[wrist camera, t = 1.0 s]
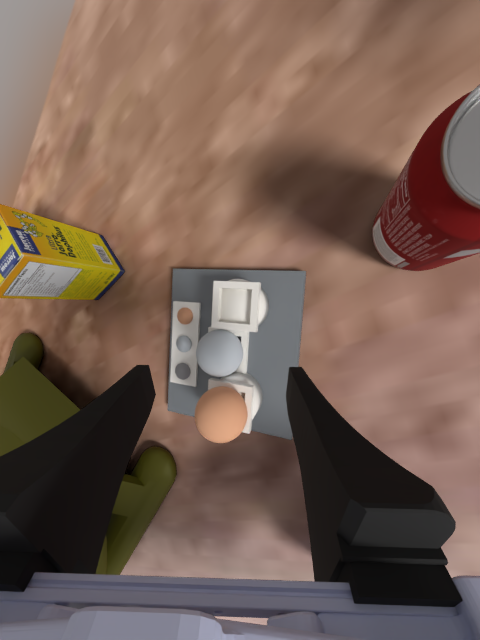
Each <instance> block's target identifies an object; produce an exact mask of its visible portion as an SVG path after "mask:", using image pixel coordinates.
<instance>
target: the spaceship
mask: <svg viewBox="0 0 480 640" xmlns="http://www.w3.org/2000/svg"><path fill="white" fill-rule="evenodd" d="M42 357H43V345H42V342H41V340H40V339H39V338H38V337H37V336H36V335H34V334H32V333H22V334H21V335H19V336H18V337H17V338H16V339H15V341H14V344H13V347H12V350H11V353H10V356H9V359H8V362H7V365H6V368H5V371H4V374H3V375H1V376H0V456H2V455H4V454H6V453H8V452H10V451H12V450H14V449H16V448H18V447H20V446H22V445H24V444H26V443H28V442H29V441H31V440H33V439H35V438H37V437H38V436H40V435H42V434H43V433H45V432H47V431H49V430H50V429H52V428H54V427H55V426H57V425H59V424H60V423H62V422H63V421H65V420H67V419H68V418H70V417H71V416H73V415H74V414H76V413H77V412H78V411H80V409H79V408H78V407H77V406H76V405H75V404H74V403H73V402H71V401H70V400H69V399H68V398H67V397H66V396H65V395H64V394H63V393H62V392H61V391H60V390H59V389H58V388H56V387H55V386H54V385H53V384H52V383H51V382H50V381H49V380H48V379H47V378H46V377H45V376H44V375H43V374H41V373H40V372H39V371H38V367H39V365H40V362H41V359H42ZM176 475H177V472H176V463H175V461H174V459H173V457H172V455H171V454H170V453H169V452H168V451H167V450H165V449H163V448H161V447H155V446H153V447H150V448H148V449H146V450H145V451H144V452H143V454H142V455H141V456H140V459H139V461H138V462H137V464H136V466H135V468H134V470H133V472H132V474H131V476H130V475H127V474H124V477H123V480H122V483H121V485H120V489H119V492H118V495H117V498H116V501H115V505H114V508H113V511H112V515H111V518H110V521H109V525H108V528H107V532H106V535H105V539H104V543H103V547H102V551H101V554H100V558H99V562H98V566H97V570H96V574H103V575H120V573H121V572H122V570H123V568H124V566H125V565H126V563H127V561H128V560H129V558H130V556H131V555H132V553H133V551H134V549H135V548H136V546H137V544H138V543H139V541H140V539H141V538H142V536H143V534H144V532H145V531H146V529H147V527H148V526H149V524H150V522H151V520H152V519H153V517H154V515H155V514H156V512H157V510H158V509H159V507H160V505H161V503H162V502H163V500H164V498H165V497H166V495H167V493H168V491H169V490H170V488H171V486H172V485H173V483H174V481H175V478H176Z"/></svg>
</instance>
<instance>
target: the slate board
mask: <svg viewBox="0 0 480 640" xmlns="http://www.w3.org/2000/svg"><path fill="white" fill-rule="evenodd" d="M232 279H243V280H247V281H250V282H260V283H261V288H262V289H263V290H264V291H265V293H266V295H267V297H268V300H269V311H268V314H267V317H266V319H265V320H264V321H263V323H262V324H261V325H259V326H258V332H248V331H245V332H240V333H235V332H232V333H233V334H234V335H236V336H237V337H238V339H239V340H240V342H241V344H242V347H243V359H242V362H241V364H240V366H239V367H238V369H237V370H236V371H234V372H238V373H244V374H245V373H248V374H250V375H251V376H253V377H254V378H255V379H256V380H257V382H258V383H259V385H260V387H261V389H262V394H263V400H262V404H261V407H260V408H259V410H258V412H257V413H256V415H255V416H254V418H253V420H252V427H251V430H252V431H256V432H260V433H264V434H268V435H273V436H277V437H281V438H285V439H289V440H292V437H293V434H292V430H291V426H290V422H289V417H288V411H287V403H286V389H287V381H288V372H289V367H299V354H300V342H301V330H302V317H303V305H304V293H305V280H306V271H273V270H217V269H173V281H172V308H171V334H170V361H169V388H168V411H172V412H176V413H180V414H184V415H189V416H193V417H195V408H196V405H197V403H198V401H199V399H200V398H201V396H202V395H203V394H204V393H205V392H207V391H208V380H209V379H210V378H216V379H221V378H222V377H215V376H211V375H209V374H207V373H206V372H204V371H203V370H202V369H201V367H200V366H199V364H198V362H197V358H196V349H197V345H198V343H199V341H200V340H201V338H202V337H203V336H204V335H205V334H207V333H208V332H210V331H213V330H218V329H219V328H211V321H212V301H213V282H214V281H229V280H232ZM222 330H226V329H222ZM227 331H228V330H227Z"/></svg>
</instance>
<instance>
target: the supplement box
mask: <svg viewBox="0 0 480 640" xmlns="http://www.w3.org/2000/svg"><path fill="white" fill-rule="evenodd" d="M124 272H125V271H124V269H123V267H122V266H121V264H120V262H119V261H118V259H117V258H116V256H115V255H114V253H113V251H112V250H111V248H110V247H109V245H108V243H107V242H106V240H105V239H104V237H103V236H102V235H99V234H96V233H92V232H89V231H86V230H83V229H80V228H76V227H73V226H70V225H67V224H63V223H60V222H57V221H53V220H50V219H47V218H44V217H41V216H38V215H34V214H31V213H28V212H24V211H21V210H18V209H15V208H11V207H8V206H5V205H1V204H0V298H22V299H79V300H98V299H99V298H100V297H101V296H102V295H103V294H104V293H105V292H106V291H107V290H108V289H109V288H110V287H111V286H112V285H113V284H114V283H115V282H116V281H117V280H118V279H119V278H120V277H121V276H122V274H123V273H124Z"/></svg>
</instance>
